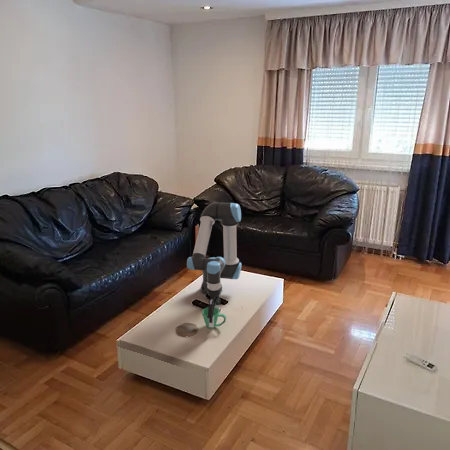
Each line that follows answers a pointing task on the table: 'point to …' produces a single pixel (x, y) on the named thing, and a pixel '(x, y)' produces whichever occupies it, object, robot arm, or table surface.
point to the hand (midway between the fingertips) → (214, 320)
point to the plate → (186, 329)
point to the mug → (215, 315)
